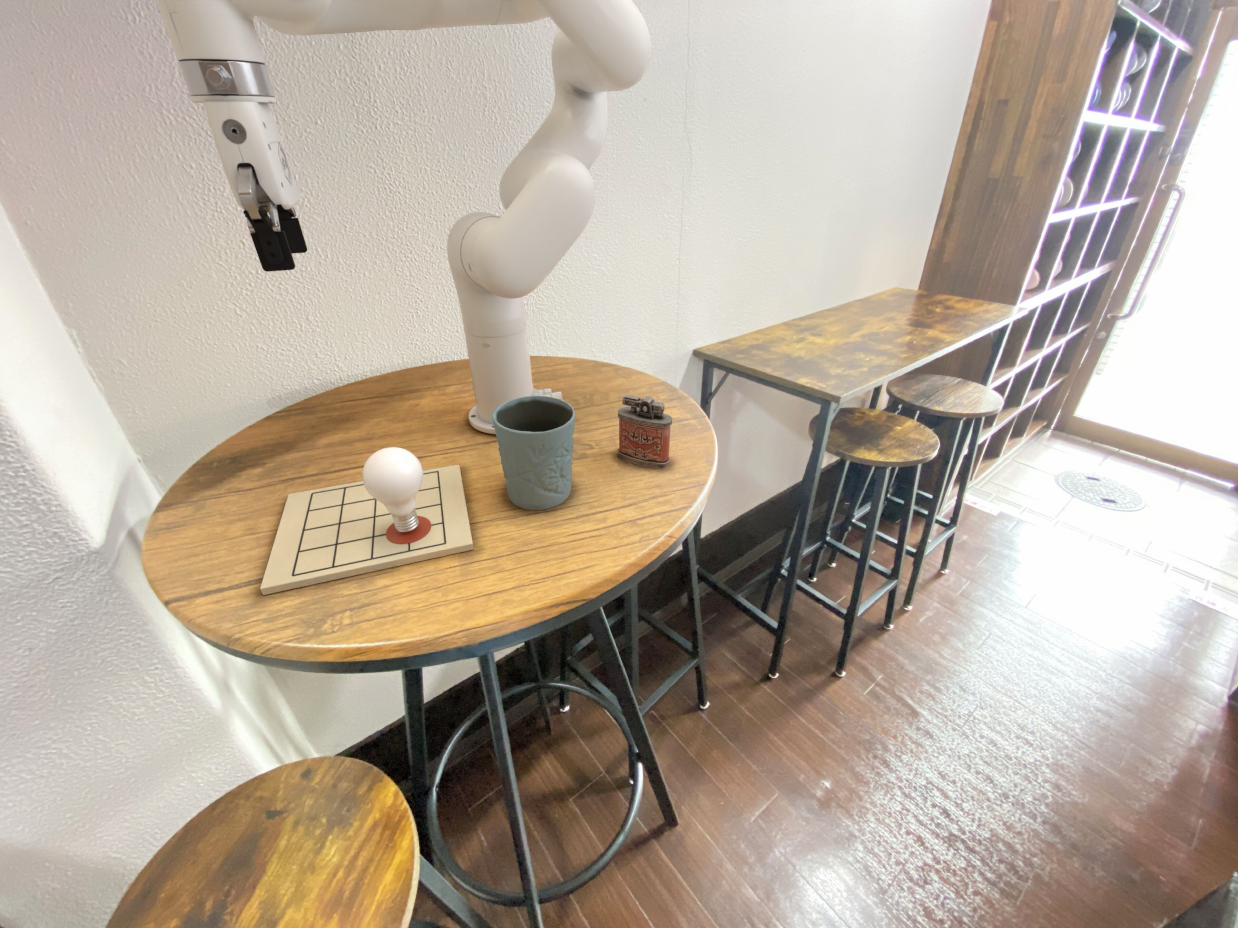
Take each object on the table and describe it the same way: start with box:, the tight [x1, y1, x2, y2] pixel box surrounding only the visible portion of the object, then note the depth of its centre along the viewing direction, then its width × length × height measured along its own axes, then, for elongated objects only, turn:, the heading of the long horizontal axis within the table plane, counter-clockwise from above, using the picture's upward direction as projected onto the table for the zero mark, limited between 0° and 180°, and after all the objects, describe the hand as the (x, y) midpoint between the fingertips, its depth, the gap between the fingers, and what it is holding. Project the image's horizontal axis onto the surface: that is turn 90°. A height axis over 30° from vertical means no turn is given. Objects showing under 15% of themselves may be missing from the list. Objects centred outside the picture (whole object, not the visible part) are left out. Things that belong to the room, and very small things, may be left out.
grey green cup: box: [492, 396, 576, 511], centre depth 69 cm, size 10×10×12 cm
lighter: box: [617, 394, 673, 469], centre depth 77 cm, size 8×3×10 cm, turn 65°
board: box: [259, 464, 474, 596], centre depth 66 cm, size 22×18×1 cm
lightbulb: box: [361, 446, 424, 532], centre depth 61 cm, size 6×6×11 cm
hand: (287, 261), depth 64 cm, fingers open, 9 cm apart
